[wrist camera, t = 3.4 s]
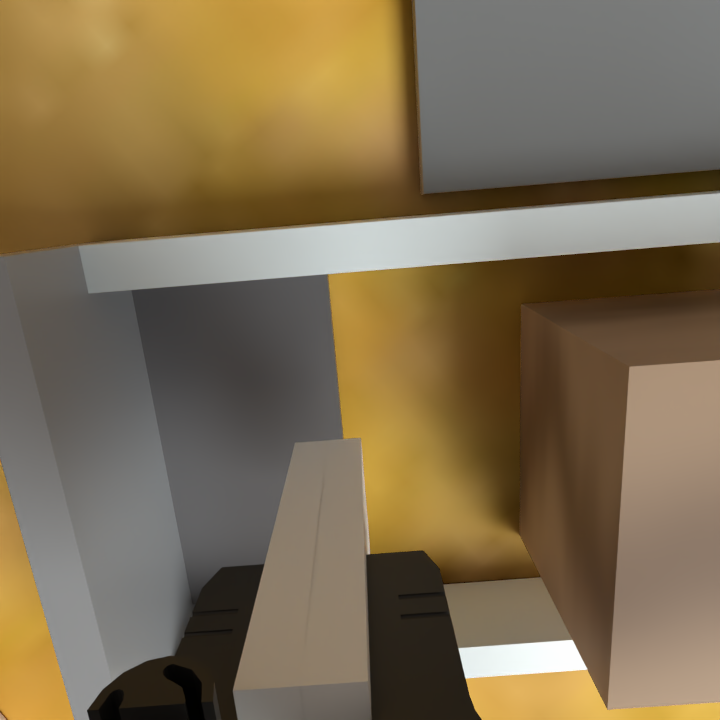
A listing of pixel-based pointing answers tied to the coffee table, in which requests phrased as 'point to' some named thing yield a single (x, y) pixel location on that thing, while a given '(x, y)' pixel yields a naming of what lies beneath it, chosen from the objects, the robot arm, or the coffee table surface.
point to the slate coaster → (564, 90)
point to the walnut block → (627, 486)
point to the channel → (231, 412)
